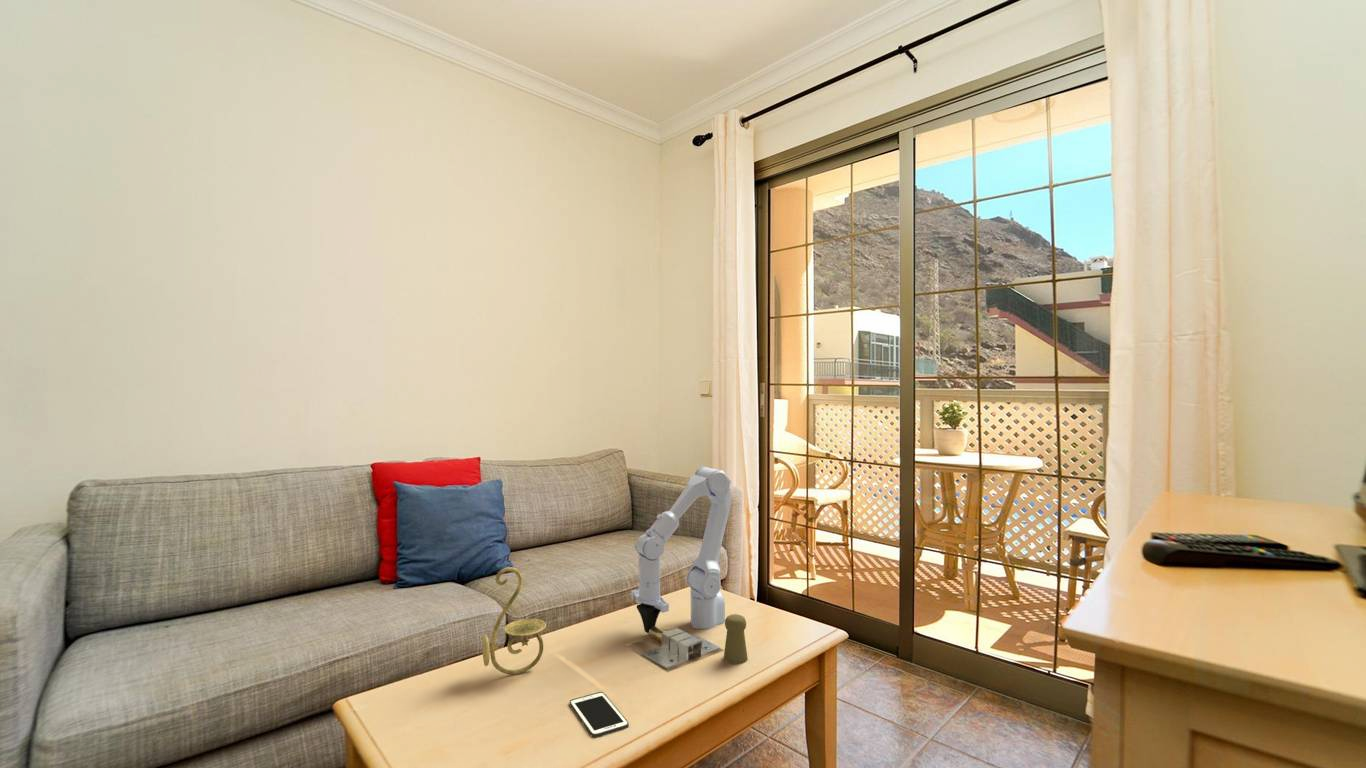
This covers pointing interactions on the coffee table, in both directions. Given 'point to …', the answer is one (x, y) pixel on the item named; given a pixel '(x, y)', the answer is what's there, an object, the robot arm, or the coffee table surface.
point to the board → (653, 643)
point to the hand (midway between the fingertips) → (649, 631)
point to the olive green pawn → (735, 640)
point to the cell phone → (598, 714)
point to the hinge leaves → (679, 648)
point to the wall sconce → (513, 631)
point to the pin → (656, 633)
